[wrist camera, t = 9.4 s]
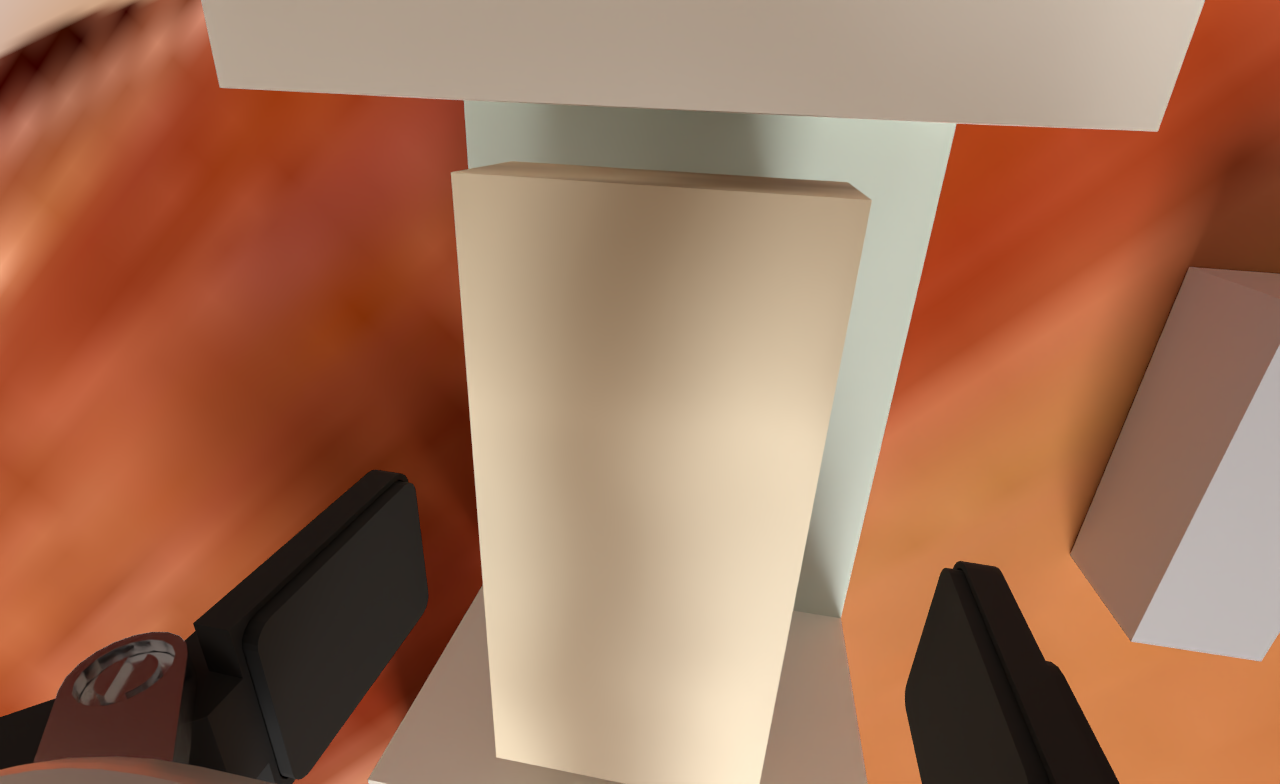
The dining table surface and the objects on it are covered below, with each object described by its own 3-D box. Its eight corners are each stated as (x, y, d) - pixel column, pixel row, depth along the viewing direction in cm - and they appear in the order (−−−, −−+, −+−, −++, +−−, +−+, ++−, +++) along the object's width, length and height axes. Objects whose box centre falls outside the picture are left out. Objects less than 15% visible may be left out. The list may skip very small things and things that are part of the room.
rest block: (1326, 277, 15) (1476, 319, 12) (1176, 569, 19) (1261, 661, 16) (1188, 267, 15) (1299, 305, 12) (1070, 555, 19) (1130, 641, 16)
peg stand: (960, 53, 15) (1213, -26, 6) (829, 629, 22) (870, 929, 14) (476, 38, 16) (192, -41, 8) (507, 577, 24) (376, 818, 16)
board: (848, 182, 11) (871, 200, 8) (755, 711, 16) (754, 809, 14) (511, 161, 11) (450, 172, 9) (531, 671, 17) (496, 757, 15)
